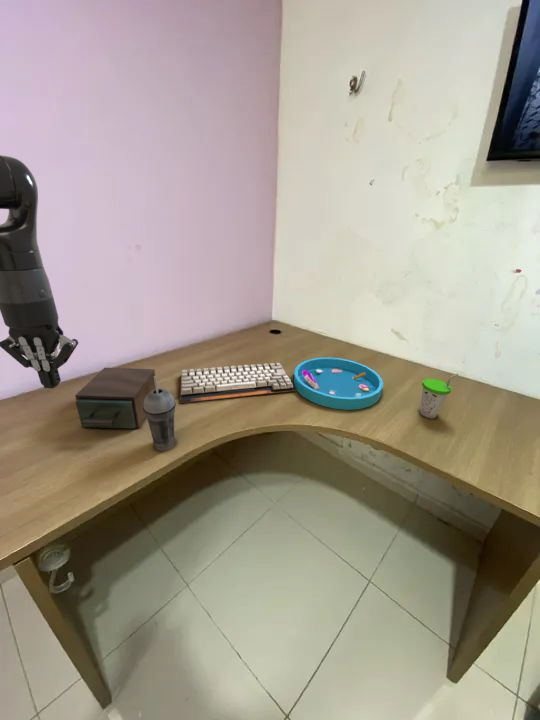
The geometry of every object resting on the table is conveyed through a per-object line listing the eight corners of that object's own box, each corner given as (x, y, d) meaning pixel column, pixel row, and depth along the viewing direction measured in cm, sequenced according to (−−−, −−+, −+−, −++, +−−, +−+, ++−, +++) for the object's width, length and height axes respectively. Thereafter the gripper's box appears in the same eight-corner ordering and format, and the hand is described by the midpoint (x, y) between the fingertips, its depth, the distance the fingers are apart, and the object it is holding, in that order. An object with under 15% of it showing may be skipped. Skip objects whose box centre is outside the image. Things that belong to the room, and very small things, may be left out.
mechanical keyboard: (180, 404, 94) (179, 394, 92) (180, 375, 111) (179, 367, 109) (297, 392, 103) (298, 383, 102) (280, 367, 120) (281, 359, 119)
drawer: (127, 439, 77) (122, 412, 74) (72, 437, 77) (64, 411, 73) (153, 398, 94) (149, 375, 91) (108, 397, 94) (103, 374, 91)
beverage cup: (180, 434, 81) (174, 365, 73) (178, 453, 75) (170, 380, 66) (151, 436, 80) (141, 367, 72) (146, 455, 74) (134, 382, 65)
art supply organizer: (283, 369, 118) (284, 355, 116) (354, 364, 125) (357, 350, 123) (311, 414, 92) (313, 397, 89) (399, 404, 99) (403, 388, 96)
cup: (409, 412, 95) (421, 368, 89) (422, 404, 100) (434, 362, 93) (434, 425, 90) (449, 379, 83) (446, 416, 94) (461, 372, 88)
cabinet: (139, 428, 83) (133, 397, 79) (83, 426, 82) (74, 395, 78) (158, 396, 97) (154, 369, 93) (110, 395, 97) (104, 367, 92)
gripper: (78, 292, 55) (97, 378, 62) (2, 289, 55) (30, 375, 62) (51, 303, 48) (76, 397, 55) (-36, 299, 48) (1, 395, 55)
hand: (52, 386), depth 59 cm, fingers closed
